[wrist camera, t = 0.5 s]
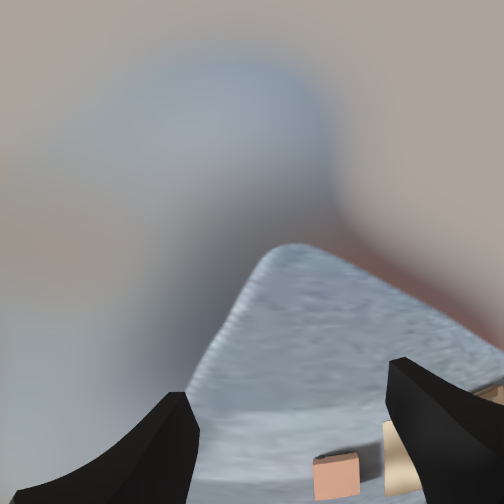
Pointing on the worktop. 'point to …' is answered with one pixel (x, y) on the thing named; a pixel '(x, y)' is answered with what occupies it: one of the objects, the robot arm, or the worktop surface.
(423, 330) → the worktop surface
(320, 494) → the peach toy brick
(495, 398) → the dock
